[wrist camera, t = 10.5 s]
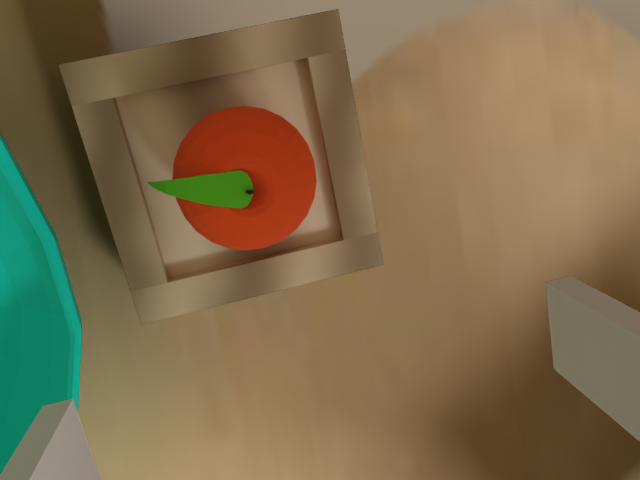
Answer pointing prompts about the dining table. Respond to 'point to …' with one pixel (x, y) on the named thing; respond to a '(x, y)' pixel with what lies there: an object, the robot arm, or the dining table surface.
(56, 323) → the table top decor
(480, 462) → the dining table surface
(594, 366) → the robot arm
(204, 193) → the clementine
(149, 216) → the tray
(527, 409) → the dining table surface
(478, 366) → the dining table surface
